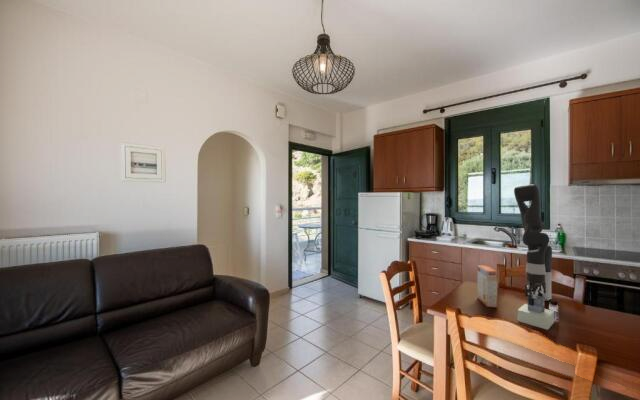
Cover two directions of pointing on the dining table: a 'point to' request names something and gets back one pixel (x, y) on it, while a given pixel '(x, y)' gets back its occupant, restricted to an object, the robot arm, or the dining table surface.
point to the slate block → (537, 304)
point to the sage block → (536, 317)
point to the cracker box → (487, 286)
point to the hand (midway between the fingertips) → (535, 303)
